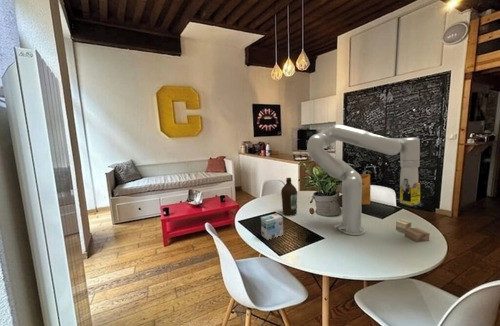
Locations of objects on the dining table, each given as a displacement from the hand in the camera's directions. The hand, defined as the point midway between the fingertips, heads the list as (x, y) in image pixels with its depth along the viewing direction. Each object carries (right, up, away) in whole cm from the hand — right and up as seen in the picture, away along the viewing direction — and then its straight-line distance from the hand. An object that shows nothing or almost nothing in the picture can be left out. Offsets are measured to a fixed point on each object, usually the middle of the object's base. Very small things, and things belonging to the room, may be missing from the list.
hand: (410, 198), depth 109 cm
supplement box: (0, -3, 0) cm, 3 cm away
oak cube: (+5, -19, +12) cm, 23 cm away
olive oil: (-51, -17, +44) cm, 70 cm away
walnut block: (+5, -20, +3) cm, 21 cm away
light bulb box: (-66, -23, +14) cm, 71 cm away
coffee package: (+4, -12, +58) cm, 59 cm away
